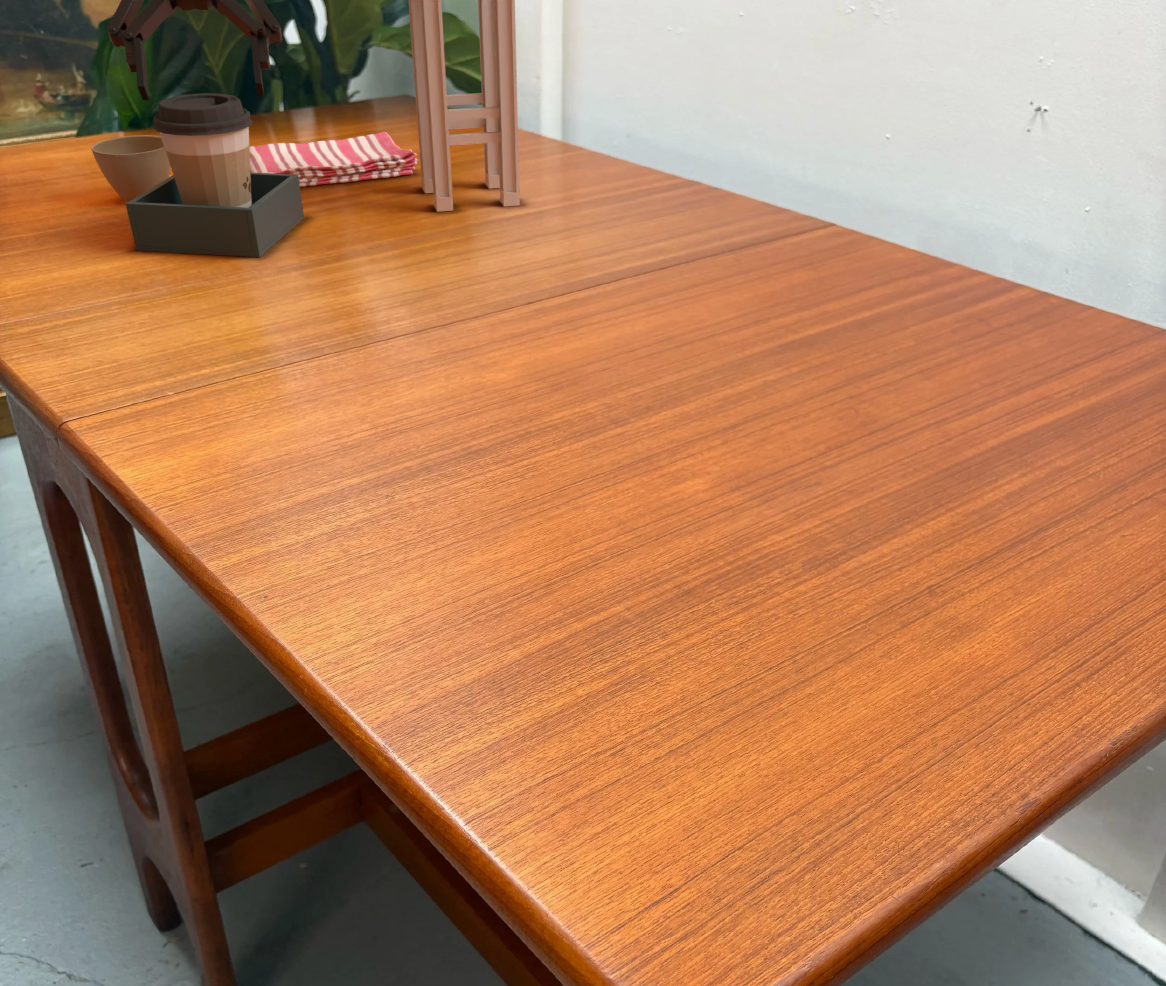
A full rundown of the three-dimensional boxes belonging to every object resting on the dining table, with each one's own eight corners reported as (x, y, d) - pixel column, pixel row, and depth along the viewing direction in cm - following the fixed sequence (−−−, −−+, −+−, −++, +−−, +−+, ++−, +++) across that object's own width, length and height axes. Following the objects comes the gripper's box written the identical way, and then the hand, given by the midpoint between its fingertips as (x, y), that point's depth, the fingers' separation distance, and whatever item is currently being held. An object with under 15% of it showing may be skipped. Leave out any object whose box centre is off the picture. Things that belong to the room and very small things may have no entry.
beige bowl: (113, 189, 154) (101, 135, 150) (187, 187, 155) (176, 134, 151) (95, 210, 146) (82, 154, 142) (173, 208, 147) (162, 152, 143)
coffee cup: (274, 237, 135) (254, 107, 127) (178, 247, 132) (150, 114, 123) (263, 212, 144) (243, 88, 135) (172, 220, 141) (146, 94, 132)
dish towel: (421, 174, 162) (419, 149, 160) (262, 192, 153) (258, 166, 151) (386, 148, 174) (384, 125, 172) (238, 163, 166) (233, 139, 164)
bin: (135, 250, 133) (125, 203, 129) (190, 213, 145) (182, 169, 142) (259, 257, 131) (252, 209, 128) (304, 218, 144) (298, 174, 140)
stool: (538, 208, 148) (534, -96, 128) (424, 217, 144) (402, -95, 124) (510, 178, 160) (502, -104, 140) (405, 186, 157) (381, -103, 137)
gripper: (292, -40, 143) (309, 107, 140) (90, -39, 139) (102, 113, 135) (286, -85, 136) (304, 69, 132) (72, -85, 131) (84, 75, 128)
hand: (202, 92), depth 134 cm, fingers open, 13 cm apart
